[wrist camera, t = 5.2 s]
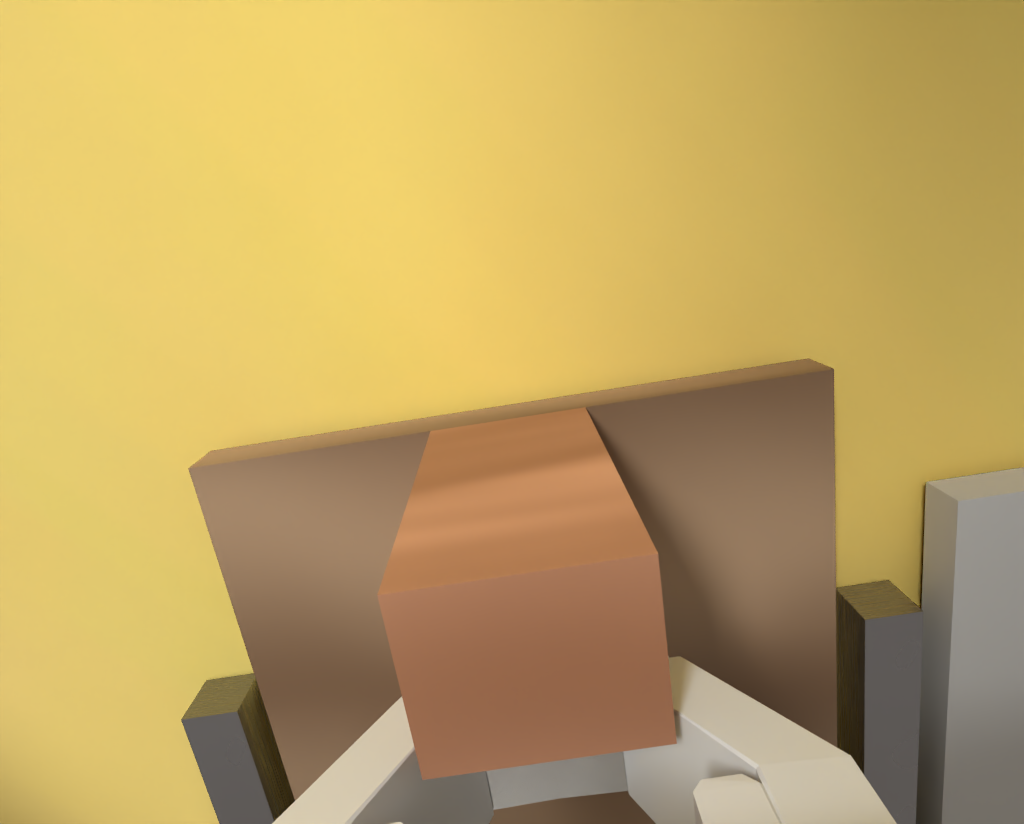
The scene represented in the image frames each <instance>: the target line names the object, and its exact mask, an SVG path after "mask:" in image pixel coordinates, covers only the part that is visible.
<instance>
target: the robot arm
mask: <svg viewBox="0 0 1024 824" xmlns="http://www.w3.org/2000/svg"><path fill="white" fill-rule="evenodd" d="M668 659H669V669H670V679H671V689H672V700H673V710H674V720H675V730H676V740H677V744H672V745H665V746H658V747H651V748H644V749H637V750H630V751H623V752H616V753H609V754H602V755H595V756H588V757H581V758H574V759H567V760H560V761H553V762H546V763H539V764H532V765H525V766H518V767H511V768H504V769H497V770H490V771H483V772H476V773H469V774H462V775H455V776H448V777H441V778H434V779H426V780H422V776H421V772H420V768H419V764H418V760H417V756H416V752H415V748H414V743H413V739H412V735H411V731H410V727H409V723H408V719H407V715H406V711H405V707H404V703H403V698H402V697H401V698H400V699H398V700H397V701H396V702H395V703H394V704H393V705H392V706H391V707H390V708H389V709H388V710H387V711H386V712H385V713H384V714H383V715H382V716H381V717H380V718H379V719H378V720H377V721H376V722H375V723H374V724H373V725H372V726H371V727H370V728H369V729H368V730H367V731H366V732H365V733H364V734H363V735H362V736H361V737H360V738H359V739H358V740H357V741H356V742H355V743H354V744H353V745H352V746H351V747H350V748H349V749H348V750H347V751H346V752H345V753H344V754H342V755H341V756H340V757H339V758H338V759H337V760H336V761H335V762H334V763H333V764H332V765H331V766H330V767H329V768H328V769H327V770H326V771H325V772H324V773H323V774H322V775H321V776H320V777H319V778H318V779H317V780H316V781H315V782H314V783H313V784H312V785H311V786H310V787H309V788H308V789H307V790H306V791H305V792H304V793H303V794H302V795H301V796H300V797H299V798H298V799H297V800H296V801H295V802H294V803H293V804H292V805H291V806H290V807H289V808H288V809H287V810H285V811H284V812H283V813H282V814H281V815H280V816H279V817H278V818H277V819H276V820H275V821H274V822H273V823H272V824H489V823H490V821H491V819H492V817H493V815H494V812H493V810H496V809H502V808H507V807H513V806H519V805H525V804H531V803H536V802H542V801H548V800H554V799H559V798H560V797H561V798H568V797H577V796H586V795H595V794H604V793H613V792H622V791H628V792H629V795H630V796H631V797H632V798H633V799H634V800H635V801H636V803H637V804H638V805H639V806H640V807H641V808H642V809H643V810H644V811H645V812H646V813H647V815H648V816H649V817H650V818H651V819H652V820H653V821H654V822H655V823H656V824H897V823H896V822H895V820H894V819H893V817H892V816H891V814H890V813H889V811H888V810H887V808H886V807H885V805H884V804H883V802H882V801H881V800H880V798H879V797H878V795H877V794H876V792H875V791H874V789H873V788H872V786H871V785H870V783H869V782H868V780H867V779H866V777H865V776H864V774H863V773H862V771H861V770H860V768H859V767H858V765H857V764H856V762H855V761H854V760H853V758H852V757H851V755H849V754H847V753H845V752H844V751H842V750H840V749H839V748H837V747H835V746H833V745H832V744H830V743H828V742H827V741H825V740H823V739H821V738H820V737H818V736H816V735H814V734H813V733H811V732H809V731H808V730H806V729H804V728H802V727H801V726H799V725H797V724H796V723H794V722H792V721H790V720H789V719H787V718H785V717H784V716H782V715H780V714H778V713H777V712H775V711H773V710H772V709H770V708H768V707H766V706H765V705H763V704H761V703H760V702H758V701H756V700H754V699H753V698H751V697H749V696H748V695H746V694H744V693H742V692H741V691H739V690H737V689H736V688H734V687H732V686H730V685H729V684H727V683H725V682H724V681H722V680H720V679H718V678H717V677H715V676H713V675H711V674H710V673H708V672H706V671H705V670H703V669H701V668H699V667H698V666H696V665H694V664H693V663H691V662H689V661H687V660H686V659H684V658H682V657H680V656H678V657H670V658H669V656H668Z"/></svg>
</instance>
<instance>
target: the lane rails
mask: <svg viewBox="0 0 1024 824" xmlns="http://www.w3.org/2000/svg"><path fill="white" fill-rule="evenodd" d="M923 614H924V611H923V610H921V609H920V608H919V607H918V606H917V605H916V604H915V603H914V602H912V601H911V600H910V599H909V598H908V597H907V596H906V595H905V594H904V593H902V592H901V591H900V590H899V589H898V588H897V587H896V586H895V585H894V584H892V583H891V582H890V581H889V580H886V581H879V582H873V583H866V584H859V585H852V586H845V587H839V588H836V669H837V748H839V749H840V750H842V751H844V752H845V753H847V754H849V755H851V757H852V758H853V760H854V761H855V762H856V764H857V765H858V767H859V768H860V770H861V771H862V773H863V774H864V776H865V777H866V779H867V780H868V782H869V783H870V785H871V786H872V788H873V789H874V791H875V792H876V794H877V795H878V797H879V798H880V800H881V801H882V802H883V804H884V805H885V807H886V808H887V810H888V811H889V813H890V814H891V816H892V817H893V819H894V820H895V822H896V823H897V824H916V804H917V777H918V750H919V723H920V695H921V668H922V641H923ZM181 720H182V723H183V726H184V729H185V731H186V734H187V737H188V739H189V742H190V745H191V748H192V750H193V753H194V756H195V758H196V761H197V764H198V766H199V769H200V772H201V775H202V777H203V780H204V783H205V785H206V788H207V791H208V794H209V796H210V799H211V802H212V804H213V807H214V810H215V813H216V815H217V818H218V821H219V823H220V824H272V823H273V822H274V821H275V820H276V819H277V818H278V817H279V816H280V815H281V814H282V813H283V812H284V811H285V810H287V809H288V808H289V807H290V806H291V805H292V804H293V803H294V802H295V799H294V796H293V793H292V790H291V787H290V784H289V780H288V777H287V774H286V771H285V768H284V765H283V762H282V759H281V755H280V752H279V749H278V746H277V743H276V740H275V737H274V734H273V731H272V727H271V724H270V721H269V718H268V715H267V712H266V709H265V706H264V702H263V699H262V696H261V693H260V690H259V687H258V684H257V681H256V678H255V674H247V675H240V676H233V677H226V678H220V679H213V680H206V682H205V684H204V685H203V687H202V688H201V690H200V691H199V693H198V694H197V696H196V698H195V699H194V701H193V702H192V704H191V705H190V707H189V708H188V710H187V712H186V713H185V715H184V716H183V718H182V719H181Z"/></svg>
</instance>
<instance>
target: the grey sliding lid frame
mask: <svg viewBox="0 0 1024 824" xmlns="http://www.w3.org/2000/svg"><path fill="white" fill-rule="evenodd" d="M921 610H923V611H924V614H923V641H922V668H921V695H920V723H919V750H918V777H917V804H916V824H1024V467H1022V468H1016V469H1009V470H1002V471H996V472H989V473H982V474H976V475H969V476H962V477H956V478H949V479H942V480H936V481H929V482H926V496H925V525H924V553H923V581H922V609H921Z"/></svg>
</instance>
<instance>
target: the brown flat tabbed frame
mask: <svg viewBox="0 0 1024 824" xmlns="http://www.w3.org/2000/svg"><path fill="white" fill-rule="evenodd" d="M188 469H189V472H190V475H191V478H192V481H193V484H194V487H195V491H196V494H197V497H198V500H199V503H200V506H201V509H202V512H203V515H204V519H205V522H206V525H207V528H208V531H209V534H210V537H211V540H212V544H213V547H214V550H215V553H216V556H217V559H218V562H219V565H220V568H221V572H222V575H223V578H224V581H225V584H226V587H227V590H228V593H229V597H230V600H231V603H232V606H233V609H234V612H235V615H236V618H237V621H238V625H239V628H240V631H241V634H242V637H243V640H244V643H245V646H246V650H247V653H248V656H249V659H250V662H251V665H252V668H253V671H254V674H255V678H256V681H257V684H258V687H259V690H260V693H261V696H262V699H263V702H264V706H265V709H266V712H267V715H268V718H269V721H270V724H271V727H272V731H273V734H274V737H275V740H276V743H277V746H278V749H279V752H280V755H281V759H282V762H283V765H284V768H285V771H286V774H287V777H288V780H289V784H290V787H291V790H292V793H293V796H294V799H295V801H296V800H297V799H298V798H299V797H300V796H301V795H302V794H303V793H304V792H305V791H306V790H307V789H308V788H309V787H310V786H311V785H312V784H313V783H314V782H315V781H316V780H317V779H318V778H319V777H320V776H321V775H322V774H323V773H324V772H325V771H326V770H327V769H328V768H329V767H330V766H331V765H332V764H333V763H334V762H335V761H336V760H337V759H338V758H339V757H340V756H341V755H342V754H344V753H345V752H346V751H347V750H348V749H349V748H350V747H351V746H352V745H353V744H354V743H355V742H356V741H357V740H358V739H359V738H360V737H361V736H362V735H363V734H364V733H365V732H366V731H367V730H368V729H369V728H370V727H371V726H372V725H373V724H374V723H375V722H376V721H377V720H378V719H379V718H380V717H381V716H382V715H383V714H384V713H385V712H386V711H387V710H388V709H389V708H390V707H391V706H392V705H393V704H394V703H395V702H396V701H397V700H398V699H400V698H401V697H402V698H403V703H404V707H405V711H406V715H407V719H408V723H409V727H410V731H411V735H412V739H413V743H414V748H415V752H416V756H417V760H418V764H419V768H420V772H421V776H422V780H426V779H434V778H441V777H448V776H455V775H462V774H469V773H476V772H483V771H490V770H497V769H504V768H511V767H518V766H525V765H532V764H539V763H546V762H553V761H560V760H567V759H574V758H581V757H588V756H595V755H602V754H609V753H616V752H623V751H630V750H637V749H644V748H651V747H658V746H665V745H672V744H677V740H676V730H675V720H674V710H673V700H672V689H671V679H670V669H669V659H668V656H669V658H670V657H678V656H680V657H682V658H684V659H686V660H687V661H689V662H691V663H693V664H694V665H696V666H698V667H699V668H701V669H703V670H705V671H706V672H708V673H710V674H711V675H713V676H715V677H717V678H718V679H720V680H722V681H724V682H725V683H727V684H729V685H730V686H732V687H734V688H736V689H737V690H739V691H741V692H742V693H744V694H746V695H748V696H749V697H751V698H753V699H754V700H756V701H758V702H760V703H761V704H763V705H765V706H766V707H768V708H770V709H772V710H773V711H775V712H777V713H778V714H780V715H782V716H784V717H785V718H787V719H789V720H790V721H792V722H794V723H796V724H797V725H799V726H801V727H802V728H804V729H806V730H808V731H809V732H811V733H813V734H814V735H816V736H818V737H820V738H821V739H823V740H825V741H827V742H828V743H830V744H832V745H833V746H835V747H837V669H836V554H835V439H834V369H833V368H830V367H828V366H825V365H823V364H821V363H818V362H816V361H813V360H811V359H803V360H796V361H790V362H783V363H777V364H770V365H764V366H757V367H751V368H744V369H738V370H731V371H725V372H719V373H712V374H706V375H699V376H693V377H686V378H680V379H673V380H667V381H660V382H654V383H647V384H641V385H634V386H628V387H621V388H615V389H608V390H602V391H596V392H589V393H583V394H576V395H570V396H563V397H557V398H550V399H544V400H537V401H531V402H524V403H518V404H511V405H505V406H498V407H492V408H485V409H479V410H472V411H466V412H460V413H453V414H447V415H440V416H434V417H427V418H421V419H414V420H408V421H401V422H395V423H388V424H382V425H375V426H369V427H362V428H356V429H349V430H343V431H337V432H330V433H324V434H317V435H311V436H304V437H298V438H291V439H285V440H278V441H272V442H265V443H259V444H252V445H246V446H239V447H233V448H226V449H220V450H214V451H210V452H209V453H208V454H206V455H205V456H204V457H202V458H201V459H200V460H199V461H197V462H196V463H195V464H193V465H192V466H191V467H190V468H188ZM493 812H494V815H493V817H492V819H491V821H490V823H489V824H656V823H655V822H654V821H653V820H652V819H651V818H650V817H649V816H648V815H647V813H646V812H645V811H644V810H643V809H642V808H641V807H640V806H639V805H638V804H637V803H636V801H635V800H634V799H633V798H632V797H631V796H630V795H629V792H628V791H622V792H613V793H604V794H595V795H586V796H577V797H568V798H561V797H560V798H559V799H554V800H548V801H542V802H536V803H531V804H525V805H519V806H513V807H507V808H502V809H496V810H493Z"/></svg>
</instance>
